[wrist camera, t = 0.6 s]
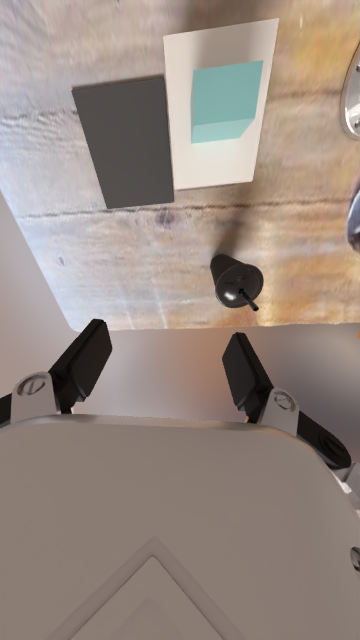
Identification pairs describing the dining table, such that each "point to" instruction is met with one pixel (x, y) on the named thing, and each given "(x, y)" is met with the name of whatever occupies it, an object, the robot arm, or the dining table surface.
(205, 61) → the lid
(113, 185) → the mat
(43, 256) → the dining table surface
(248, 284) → the drinking cup
